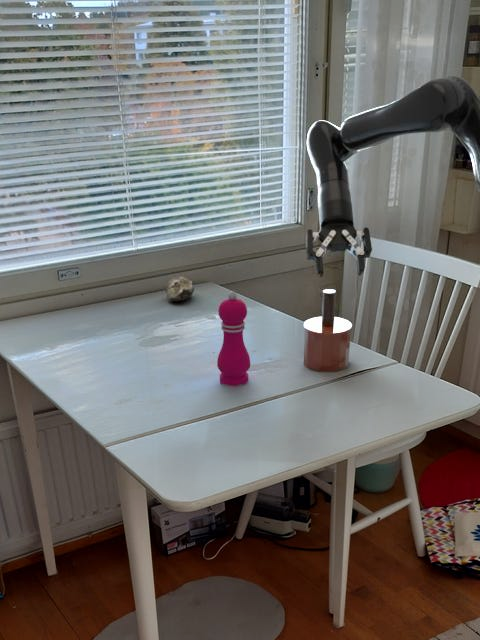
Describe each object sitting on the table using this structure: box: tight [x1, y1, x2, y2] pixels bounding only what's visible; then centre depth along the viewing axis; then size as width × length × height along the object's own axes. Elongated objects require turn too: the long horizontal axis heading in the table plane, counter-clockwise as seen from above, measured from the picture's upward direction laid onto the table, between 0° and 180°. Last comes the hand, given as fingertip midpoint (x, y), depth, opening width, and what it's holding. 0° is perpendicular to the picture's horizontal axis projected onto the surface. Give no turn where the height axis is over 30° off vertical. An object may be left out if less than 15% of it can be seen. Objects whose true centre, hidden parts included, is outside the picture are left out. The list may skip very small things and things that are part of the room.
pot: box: [303, 329, 352, 373], centre depth 178 cm, size 10×10×8 cm
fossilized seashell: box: [164, 276, 195, 302], centre depth 218 cm, size 8×7×10 cm
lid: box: [303, 288, 353, 336], centre depth 173 cm, size 11×11×9 cm
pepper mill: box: [216, 290, 251, 387], centre depth 167 cm, size 7×7×20 cm
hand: (340, 274), depth 171 cm, fingers open, 8 cm apart
